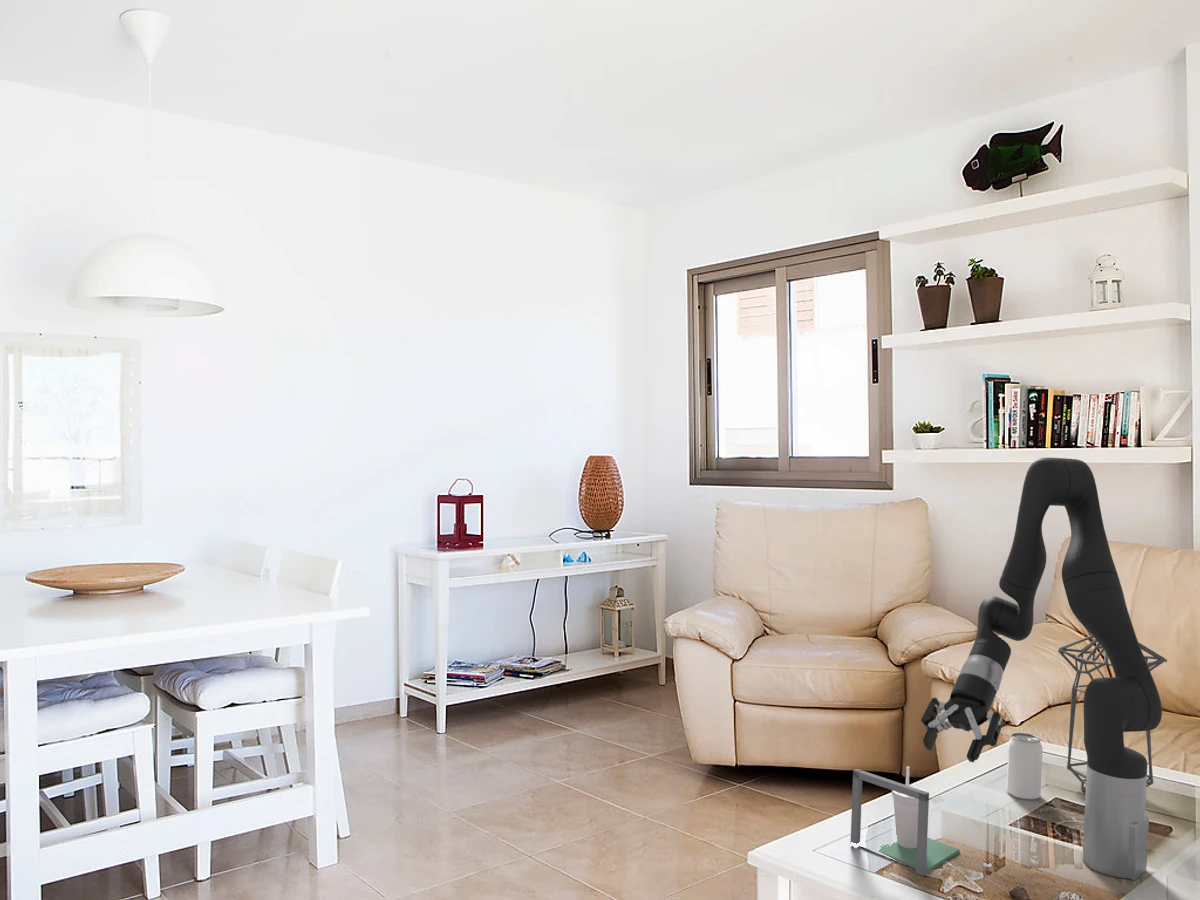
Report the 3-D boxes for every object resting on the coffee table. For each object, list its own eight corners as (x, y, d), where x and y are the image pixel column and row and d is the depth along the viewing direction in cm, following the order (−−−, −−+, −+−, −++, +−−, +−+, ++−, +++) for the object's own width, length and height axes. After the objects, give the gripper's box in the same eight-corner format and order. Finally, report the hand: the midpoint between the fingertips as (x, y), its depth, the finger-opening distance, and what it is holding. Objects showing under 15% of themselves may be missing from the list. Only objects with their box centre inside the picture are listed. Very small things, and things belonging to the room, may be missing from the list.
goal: (959, 852, 171) (962, 775, 170) (922, 875, 162) (925, 794, 161) (888, 826, 181) (891, 753, 180) (850, 846, 172) (853, 770, 171)
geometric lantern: (1107, 814, 189) (1110, 638, 189) (1050, 785, 204) (1052, 623, 204) (1171, 806, 194) (1174, 634, 193) (1110, 778, 209) (1113, 619, 208)
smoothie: (897, 832, 177) (900, 758, 176) (931, 843, 173) (935, 767, 172) (883, 844, 172) (886, 767, 171) (918, 855, 168) (922, 777, 167)
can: (1045, 801, 195) (1048, 743, 194) (1014, 800, 195) (1016, 742, 194) (1032, 788, 201) (1034, 732, 201) (1001, 787, 201) (1003, 731, 201)
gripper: (937, 665, 191) (906, 733, 184) (1008, 679, 181) (978, 752, 173) (949, 687, 195) (920, 755, 188) (1019, 702, 185) (991, 774, 177)
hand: (948, 753), depth 180 cm, fingers open, 8 cm apart
